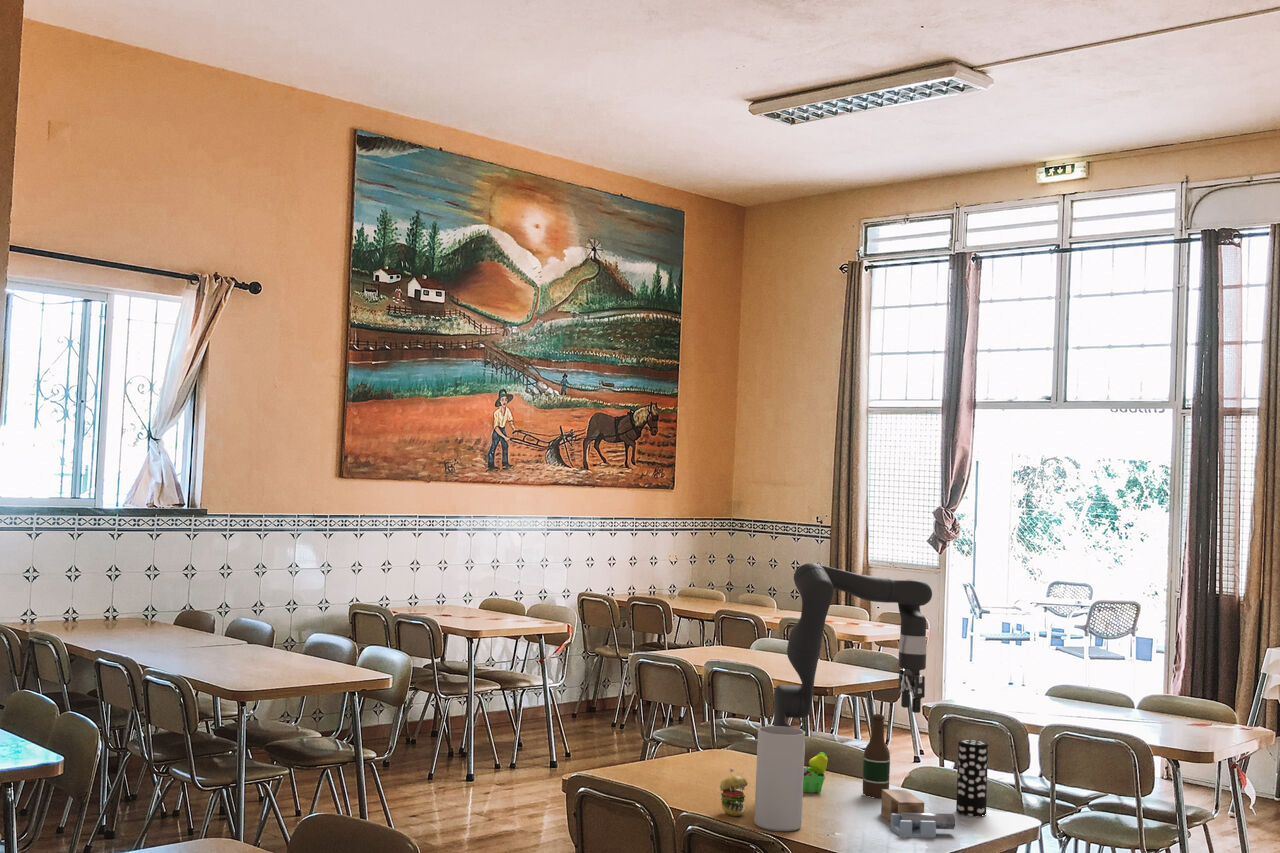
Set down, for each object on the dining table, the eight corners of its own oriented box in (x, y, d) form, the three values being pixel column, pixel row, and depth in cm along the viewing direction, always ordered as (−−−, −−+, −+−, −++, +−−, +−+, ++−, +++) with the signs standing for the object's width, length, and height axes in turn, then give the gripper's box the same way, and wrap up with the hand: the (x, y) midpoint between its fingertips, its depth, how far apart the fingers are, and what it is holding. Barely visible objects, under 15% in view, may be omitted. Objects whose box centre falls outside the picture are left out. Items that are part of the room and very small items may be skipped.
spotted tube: (986, 811, 335) (988, 741, 337) (985, 818, 327) (987, 746, 329) (957, 807, 338) (959, 738, 339) (955, 814, 330) (957, 743, 332)
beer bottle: (888, 799, 343) (891, 718, 345) (862, 797, 345) (865, 715, 346) (888, 793, 351) (891, 713, 352) (862, 791, 352) (865, 711, 354)
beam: (898, 827, 312) (899, 802, 312) (881, 813, 326) (881, 789, 326) (923, 828, 312) (924, 802, 313) (904, 814, 327) (905, 789, 327)
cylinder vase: (809, 831, 303) (812, 735, 305) (765, 833, 300) (769, 735, 302) (789, 819, 315) (793, 726, 317) (747, 820, 312) (751, 726, 314)
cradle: (900, 836, 303) (901, 821, 303) (890, 828, 310) (891, 813, 311) (935, 837, 304) (936, 822, 304) (924, 829, 312) (925, 814, 312)
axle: (903, 831, 305) (905, 816, 305) (898, 824, 309) (900, 809, 309) (954, 832, 307) (956, 817, 307) (948, 825, 311) (950, 811, 311)
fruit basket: (795, 784, 357) (796, 747, 358) (824, 786, 357) (825, 749, 358) (799, 793, 346) (801, 754, 347) (829, 795, 346) (830, 756, 346)
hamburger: (729, 818, 312) (731, 773, 313) (713, 812, 318) (715, 767, 319) (751, 816, 316) (753, 771, 317) (735, 809, 322) (737, 765, 323)
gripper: (934, 655, 318) (932, 714, 317) (916, 648, 332) (914, 706, 331) (908, 654, 317) (906, 714, 316) (891, 647, 331) (889, 705, 330)
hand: (910, 709), depth 323 cm, fingers open, 8 cm apart
